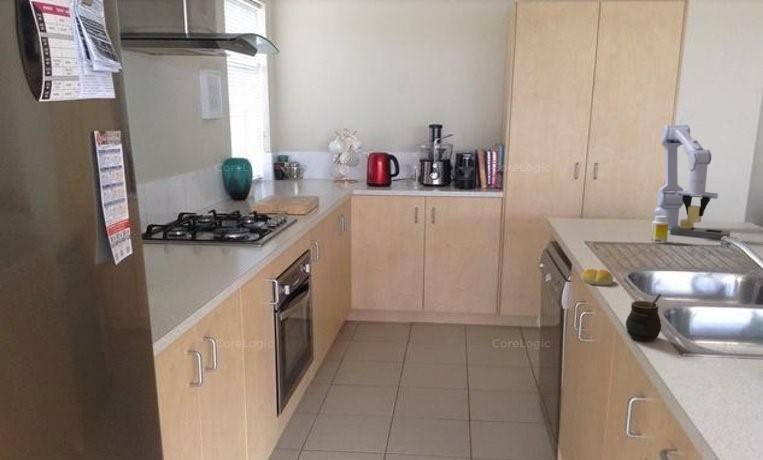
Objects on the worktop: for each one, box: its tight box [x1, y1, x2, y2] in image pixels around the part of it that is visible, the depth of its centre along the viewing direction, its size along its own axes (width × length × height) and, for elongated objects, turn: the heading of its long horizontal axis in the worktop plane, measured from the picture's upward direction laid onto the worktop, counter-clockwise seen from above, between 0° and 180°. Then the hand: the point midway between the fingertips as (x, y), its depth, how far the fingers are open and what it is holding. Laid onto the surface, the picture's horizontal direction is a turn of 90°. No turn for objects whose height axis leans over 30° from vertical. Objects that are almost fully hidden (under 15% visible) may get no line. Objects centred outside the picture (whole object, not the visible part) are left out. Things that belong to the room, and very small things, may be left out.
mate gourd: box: [625, 293, 662, 342], centre depth 133 cm, size 7×8×10 cm
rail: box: [669, 225, 731, 241], centre depth 241 cm, size 20×8×2 cm, turn 49°
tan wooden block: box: [686, 204, 702, 224], centre depth 234 cm, size 4×4×6 cm
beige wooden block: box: [679, 218, 695, 230], centre depth 244 cm, size 4×4×6 cm
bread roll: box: [580, 268, 614, 286], centre depth 178 cm, size 8×9×4 cm
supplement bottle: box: [650, 216, 669, 244], centre depth 230 cm, size 6×6×10 cm
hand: (694, 215), depth 234 cm, fingers closed on tan wooden block, 4 cm apart
